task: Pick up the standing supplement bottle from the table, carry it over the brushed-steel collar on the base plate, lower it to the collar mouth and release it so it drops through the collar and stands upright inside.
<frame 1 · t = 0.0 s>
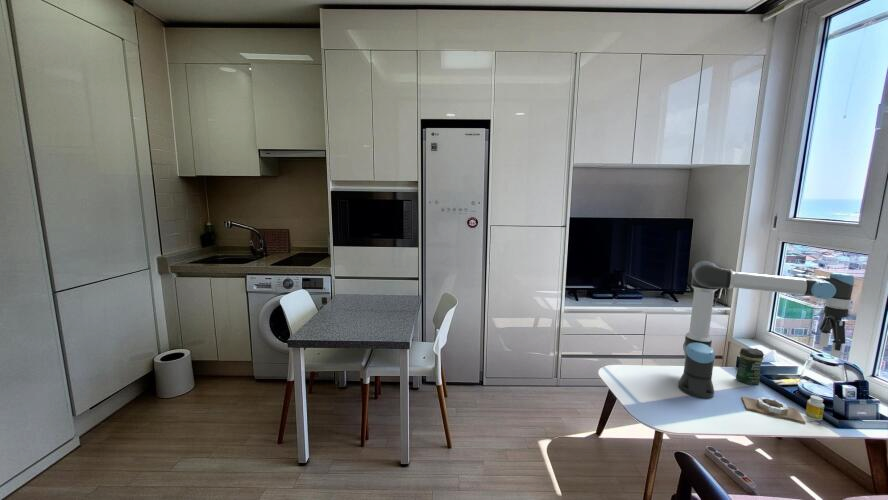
hand: (828, 351, 167), 28 cm above the table, tool pointing down, fingers open, 13 cm apart
base plate: (771, 410, 168), on the table
coffee jar: (747, 382, 194), on the table
collar: (772, 405, 167), on the base plate, point 2 cm above the table
supplement bottle: (813, 417, 163), on the table
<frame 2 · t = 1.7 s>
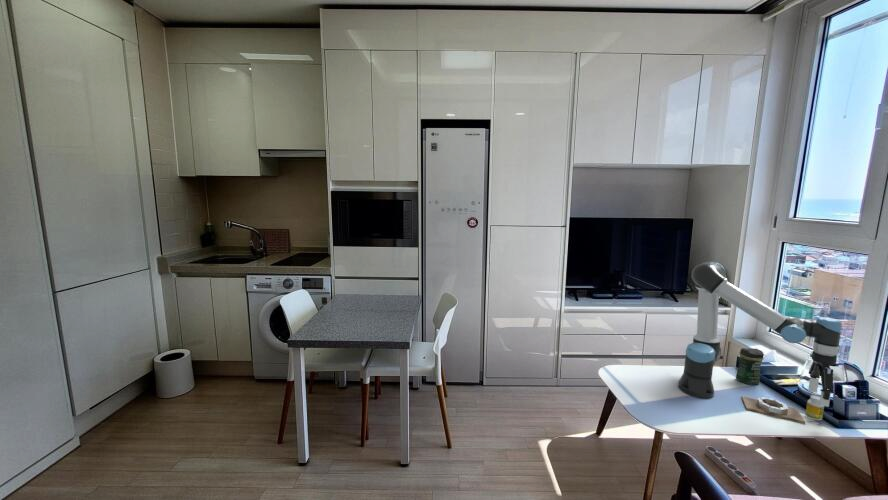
hand: (818, 398, 161), 9 cm above the table, tool pointing down, fingers open, 13 cm apart
nothing on the table moved.
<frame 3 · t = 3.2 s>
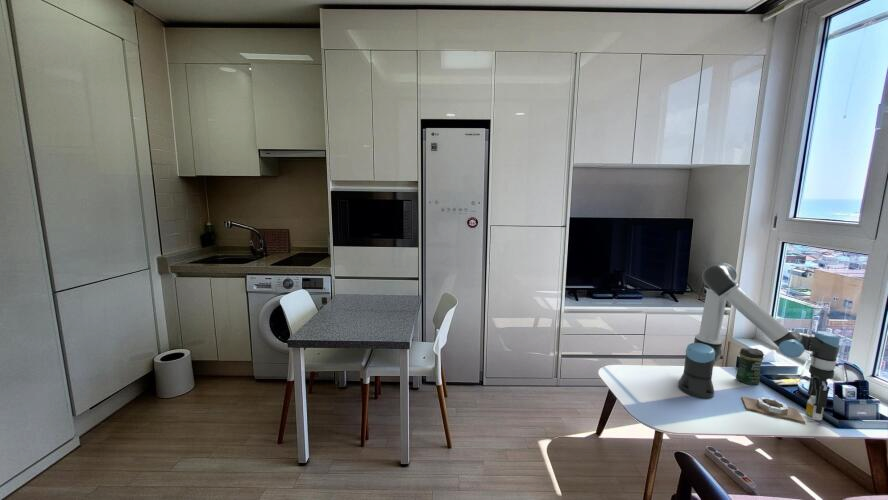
hand: (813, 415, 162), 1 cm above the table, tool pointing down, fingers closed on supplement bottle, 5 cm apart
supplement bottle: (813, 417, 163), on the table, touching gripper
everything else where it was.
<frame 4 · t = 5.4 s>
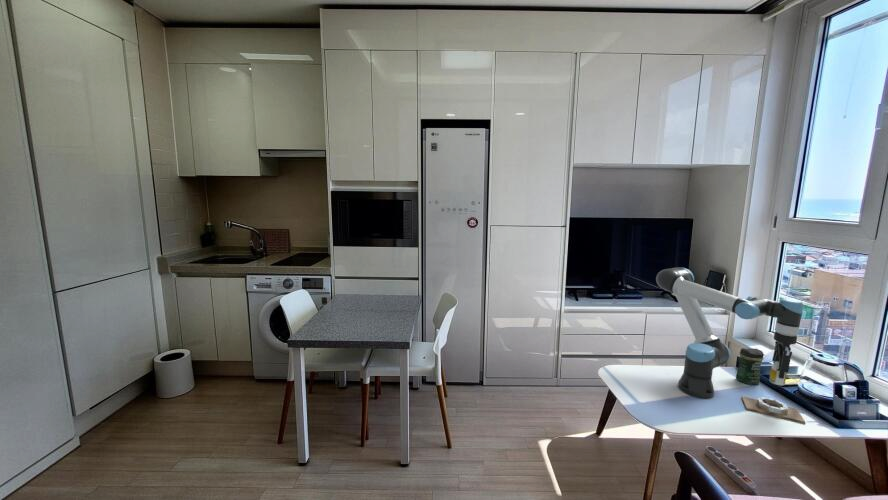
hand: (776, 381, 166), 14 cm above the table, tool pointing down, fingers closed on supplement bottle, 5 cm apart
supplement bottle: (776, 383, 166), point 13 cm above the table, touching gripper
everything else where it was.
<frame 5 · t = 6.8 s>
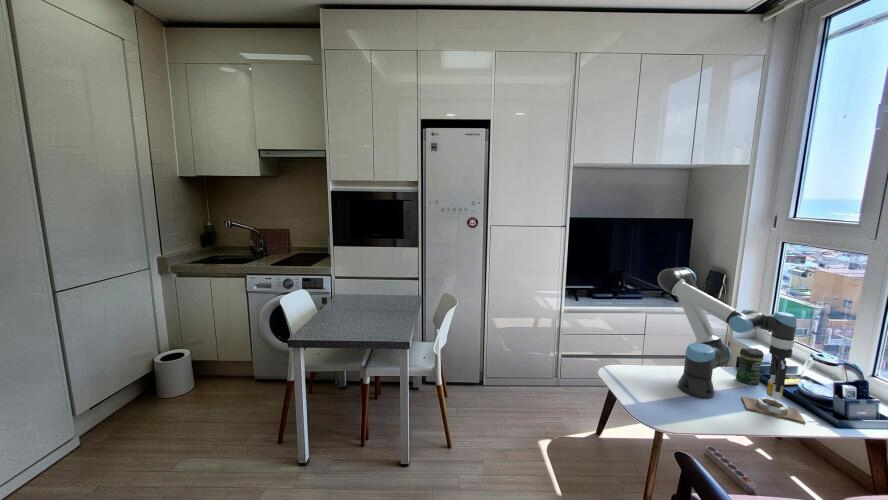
hand: (774, 394, 166), 8 cm above the table, tool pointing down, fingers closed on supplement bottle, 5 cm apart
supplement bottle: (773, 396, 166), point 7 cm above the table, touching gripper
everything else where it was.
when the fingers open (5 cm above the table, at t = 8.0 s): supplement bottle drops 3 cm, resting on base plate.
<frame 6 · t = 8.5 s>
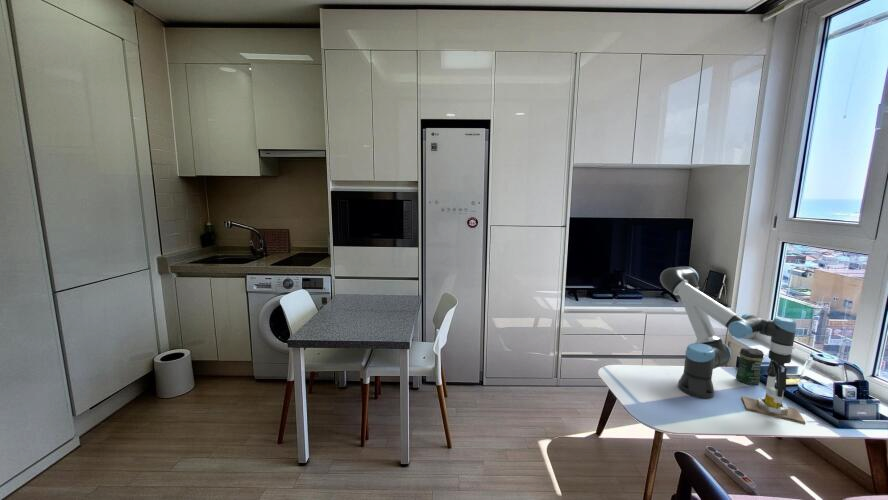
hand: (773, 395, 167), 7 cm above the table, tool pointing down, fingers open, 13 cm apart
supplement bottle: (771, 408, 167), point 1 cm above the table, touching base plate
everything else where it was.
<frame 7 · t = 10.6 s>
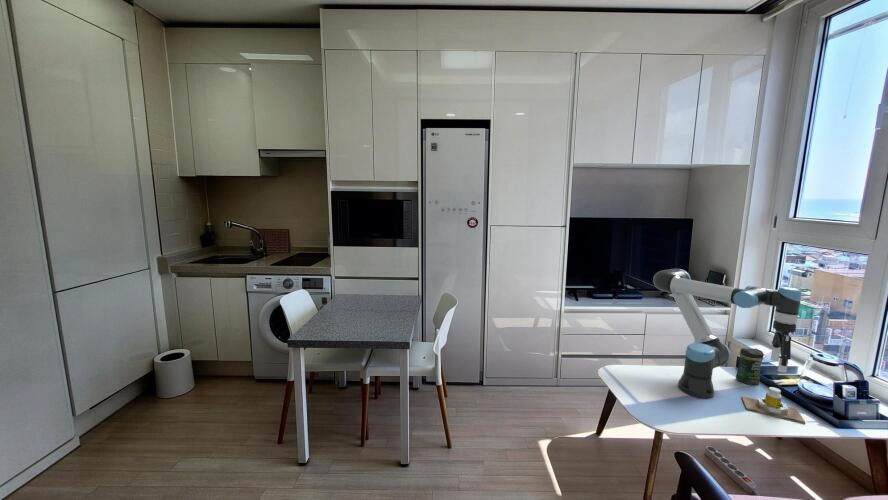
hand: (778, 366, 165), 21 cm above the table, tool pointing down, fingers open, 13 cm apart
nothing on the table moved.
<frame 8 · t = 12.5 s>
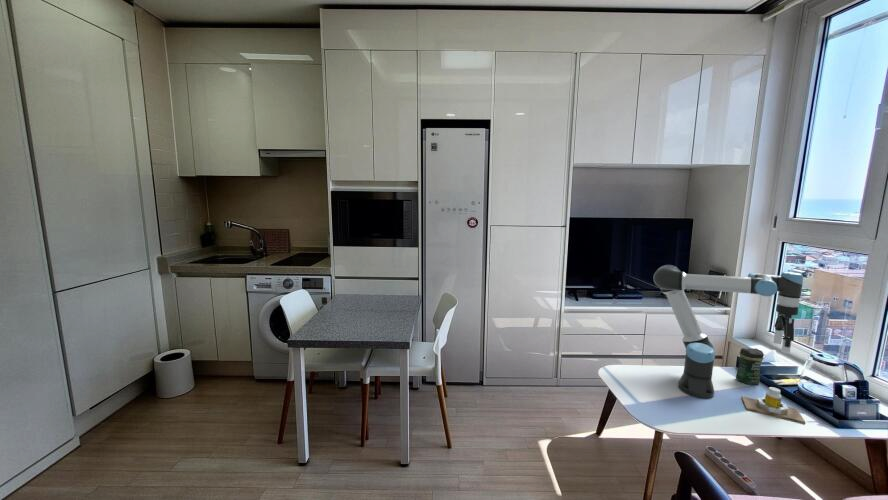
hand: (781, 348, 173), 27 cm above the table, tool pointing down, fingers open, 13 cm apart
nothing on the table moved.
at the end: supplement bottle 0.4 cm off-centre on the collar, point 0.8 cm above the collar's base; supplement bottle tilted 0°; the gripper is holding nothing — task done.
